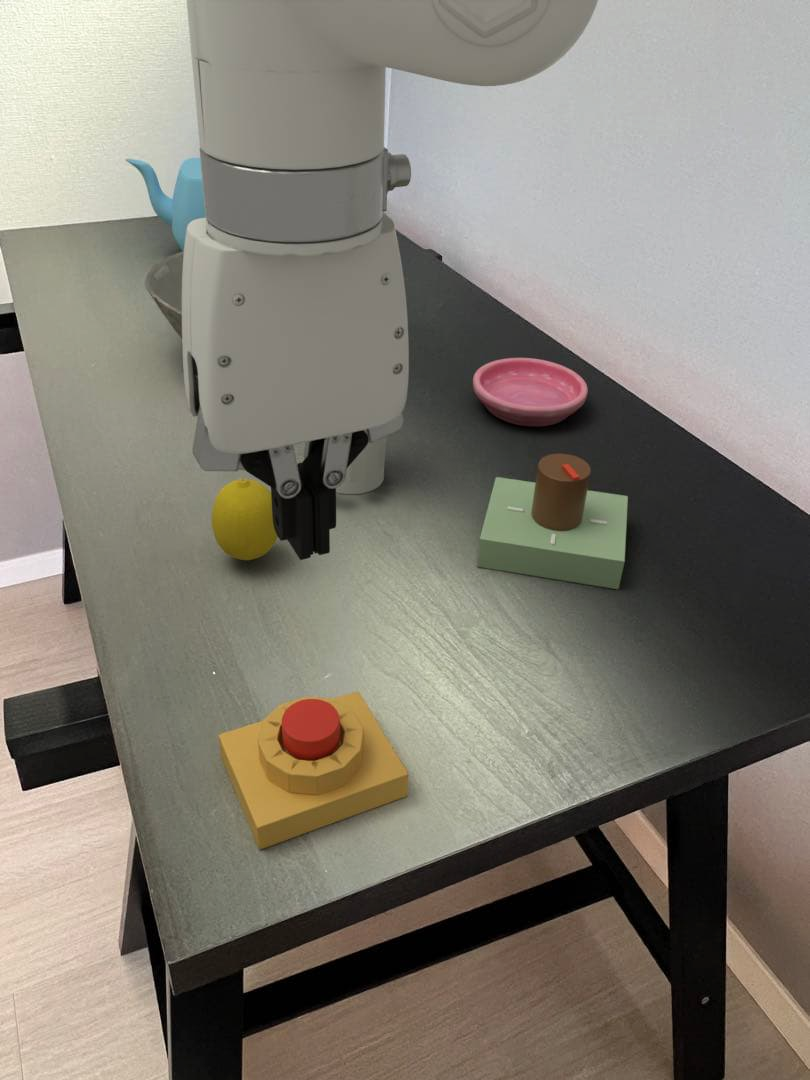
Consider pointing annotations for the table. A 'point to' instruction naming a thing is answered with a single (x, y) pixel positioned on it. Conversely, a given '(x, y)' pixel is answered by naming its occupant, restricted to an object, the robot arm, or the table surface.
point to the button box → (311, 773)
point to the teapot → (176, 196)
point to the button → (311, 729)
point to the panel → (554, 538)
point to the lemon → (244, 519)
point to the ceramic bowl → (168, 288)
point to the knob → (560, 491)
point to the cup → (365, 470)
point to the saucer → (529, 391)
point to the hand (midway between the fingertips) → (305, 541)
